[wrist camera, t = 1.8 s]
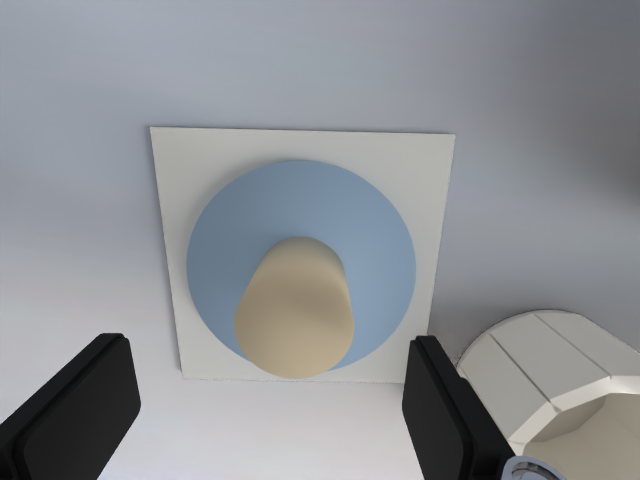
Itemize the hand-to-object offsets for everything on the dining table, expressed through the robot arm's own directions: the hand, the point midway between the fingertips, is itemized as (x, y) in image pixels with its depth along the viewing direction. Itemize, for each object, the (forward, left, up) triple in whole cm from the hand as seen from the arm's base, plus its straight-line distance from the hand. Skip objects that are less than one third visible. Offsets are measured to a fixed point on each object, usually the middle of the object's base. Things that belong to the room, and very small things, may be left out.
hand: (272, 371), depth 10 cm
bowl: (-17, +8, -9) cm, 21 cm away
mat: (-1, 0, -9) cm, 9 cm away
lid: (-1, 0, -9) cm, 9 cm away
